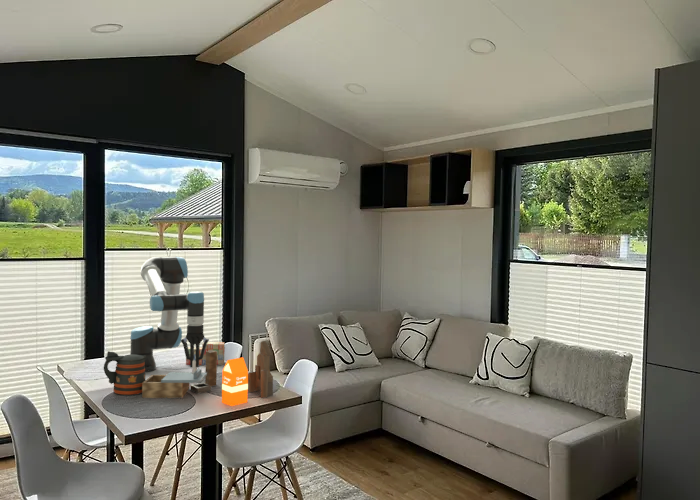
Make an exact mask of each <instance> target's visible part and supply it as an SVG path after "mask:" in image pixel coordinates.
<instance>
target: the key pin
mask: <svg viewBox="0 0 700 500" xmlns="http://www.w3.org/2000/svg"><path fill="white" fill-rule="evenodd" d="M217 366H218V365H217V352H216V351H214V350H212V351H206V365H205V371H204V373H207V376H206V377H205V378H204V380H205V382H204V383H206V384H208V385H211V387H214V386H217V376H218V375H217V372H218V371H217V369H218V367H217Z"/></svg>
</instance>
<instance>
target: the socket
mask: <svg viewBox="0 0 700 500" xmlns="http://www.w3.org/2000/svg"><path fill="white" fill-rule="evenodd" d="M189 390H190V391H191V392H192V393H193V392H194V393H196V394H202V393H203V394H204V393H208V392H212V386H211V385H208V384H206V383H205V382H201V383H195V384H194V383H193V384H189Z"/></svg>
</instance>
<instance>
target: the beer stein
mask: <svg viewBox="0 0 700 500" xmlns="http://www.w3.org/2000/svg"><path fill="white" fill-rule="evenodd" d="M145 357H146V355H143V356H142V355H136V354H124V355H119V354H118V353H117V352H115V351H110V350H108V351H107V354H106V356H105V362H104V364H103V371H104V374H105V375H106V377H107V379H108V383H110V385H112V384H113V393H114V394H116V395H118V396H120V395H121V396H130V395H131V396H133V395H138V394H139V393H140V394H142V383H143V382H144V381H145V380H146V372H145V362H144V361H145ZM111 362H116V363H115V365H116V366H115V370H114V371H112V370H110V369H109V363H111Z"/></svg>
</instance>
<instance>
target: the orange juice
mask: <svg viewBox="0 0 700 500" xmlns="http://www.w3.org/2000/svg"><path fill="white" fill-rule="evenodd" d="M248 374H249V370H248V368H247V364H246V361H245V359H244V357H237V358H233V359H227V361H226V362H225V365H224V367H223V368H222V375H221V376H222V377H221V378H222V380H221V403H222V404H224V405H227V406H230V407H234V406H238V405H243V404H246V403H248V398H249V397H248V395H249V394H248V393H249V392H248Z"/></svg>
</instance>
